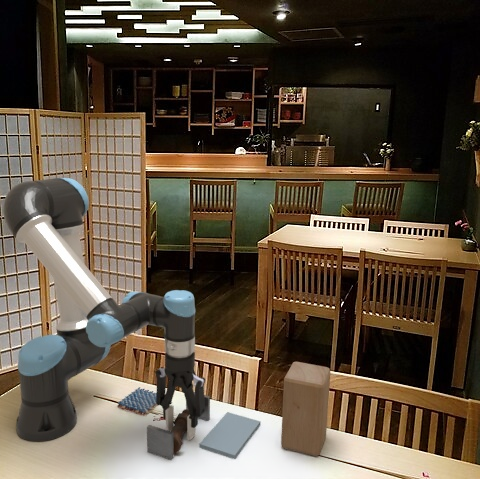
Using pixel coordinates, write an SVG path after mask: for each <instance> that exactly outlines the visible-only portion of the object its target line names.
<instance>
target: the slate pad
mask: <svg viewBox="0 0 480 479" xmlns="http://www.w3.org/2000/svg"><path fill="white" fill-rule="evenodd" d="M260 426H261V420H257V419H255V418H254V419H253V418H249V417H246V416H243V415H239V414H237V413H232V412H229V411H227V412H226V413H225V414H224V415H223V417H222V418H221V419H220V420H219V421H218V422H217V423H216V424H215V425H214V427H213V428H212V429H211V430H210V431H209V432H208V433H207V434H206V436H205V437H204V438H203V439H202V440H201V441H200V443H199V445H198V447H199V448H201V449H202V450H206V451H209V452H213V453H215V454H219V455H222V456H225V457H228V458H231V459H233V460H235V459H236V458H237V457H238V455H240V453H241V451H243V449H244V448H245V446H246V445H247V443H248V442H249V440H251V439H252V437H253V436H254V434H255V433H256V431H257V430H259V429H258V428H259V427H260Z"/></svg>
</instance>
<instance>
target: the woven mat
mask: <svg viewBox="0 0 480 479" xmlns="http://www.w3.org/2000/svg"><path fill="white" fill-rule="evenodd" d="M156 393H157V392H154V391H153V390H151V391H150V389H146V388H141V387H139V386H138V388H135V389H134V390H133V391H131V393H129V394H127V395H126V396H124V398H121V400H120V401H118V403H117V406H116V408H118V409H120V410H125V411H127V412H131V413H134V414H136V415H140V416H142V417H147V415H149V414H150V413H152V411H154V410H155V408H156V407H158V406H159V405H157V404H156Z"/></svg>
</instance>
